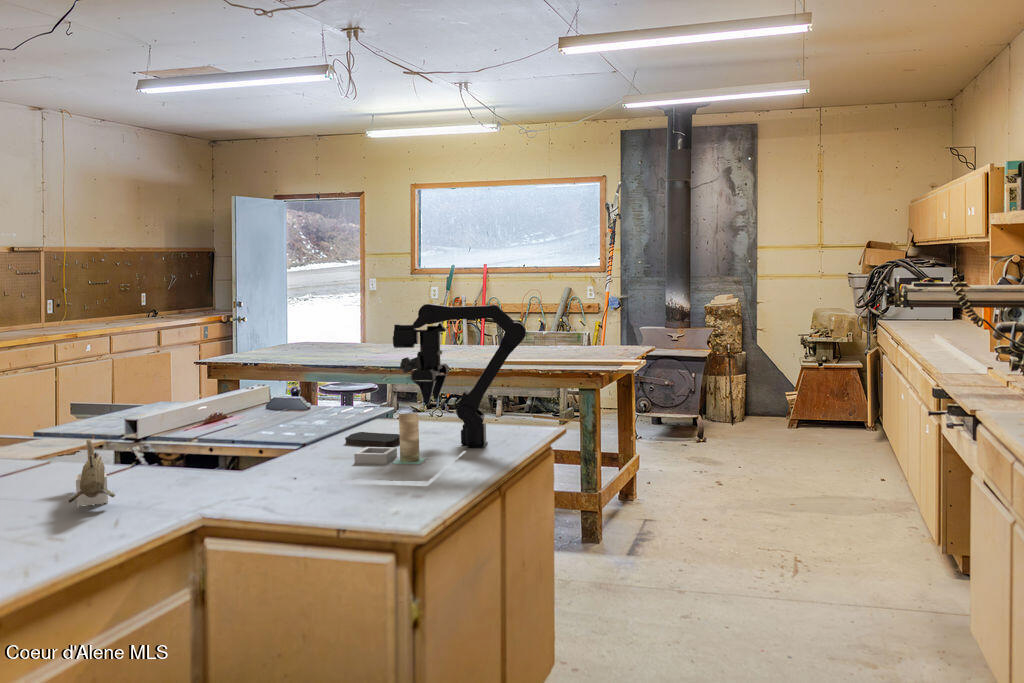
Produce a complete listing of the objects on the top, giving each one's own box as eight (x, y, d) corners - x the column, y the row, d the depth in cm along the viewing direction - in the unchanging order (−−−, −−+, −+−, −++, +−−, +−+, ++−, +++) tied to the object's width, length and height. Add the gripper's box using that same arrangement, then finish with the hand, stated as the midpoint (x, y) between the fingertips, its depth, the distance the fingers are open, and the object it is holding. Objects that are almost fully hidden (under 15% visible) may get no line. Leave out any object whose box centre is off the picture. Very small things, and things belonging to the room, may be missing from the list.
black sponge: (404, 447, 239) (404, 434, 239) (388, 452, 231) (388, 439, 231) (358, 443, 246) (357, 431, 246) (341, 449, 238) (340, 436, 238)
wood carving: (112, 481, 203) (110, 436, 202) (116, 516, 172) (114, 463, 171) (71, 485, 199) (68, 440, 198) (68, 522, 168) (65, 468, 167)
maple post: (419, 457, 217) (418, 412, 216) (419, 462, 212) (417, 416, 212) (400, 458, 217) (399, 413, 216) (399, 462, 212) (398, 416, 211)
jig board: (431, 461, 219) (430, 448, 218) (421, 469, 210) (420, 455, 209) (366, 459, 222) (366, 446, 222) (353, 467, 213) (353, 453, 213)
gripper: (412, 345, 246) (414, 396, 247) (392, 350, 228) (394, 406, 229) (448, 344, 244) (450, 397, 245) (431, 350, 226) (432, 406, 227)
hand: (431, 401), depth 237 cm, fingers open, 9 cm apart
